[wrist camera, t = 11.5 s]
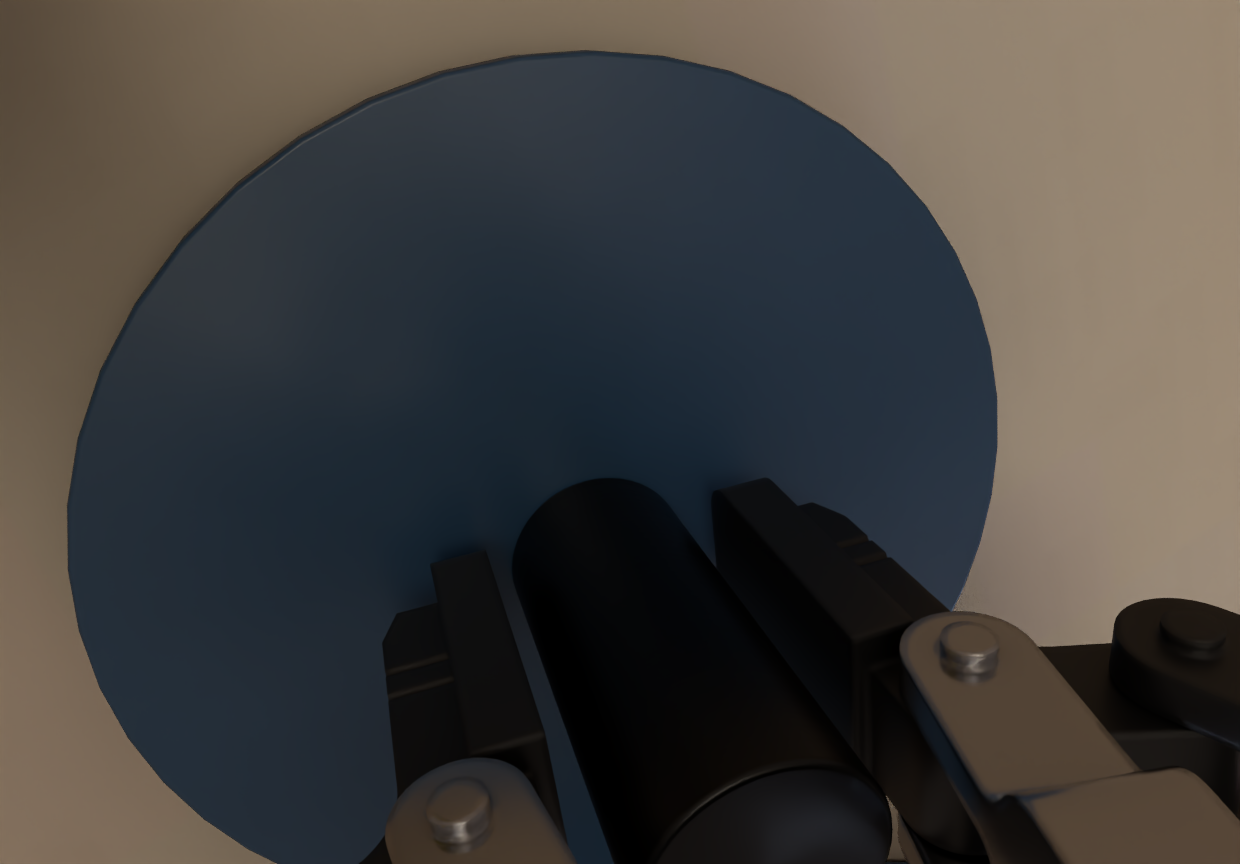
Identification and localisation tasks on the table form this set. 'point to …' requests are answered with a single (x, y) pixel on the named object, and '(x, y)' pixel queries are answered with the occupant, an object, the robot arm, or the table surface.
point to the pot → (896, 863)
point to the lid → (525, 449)
